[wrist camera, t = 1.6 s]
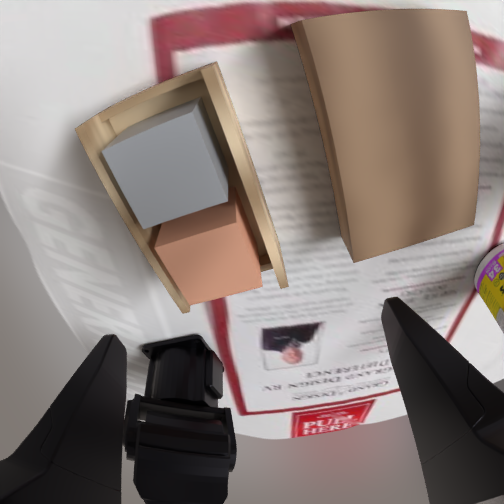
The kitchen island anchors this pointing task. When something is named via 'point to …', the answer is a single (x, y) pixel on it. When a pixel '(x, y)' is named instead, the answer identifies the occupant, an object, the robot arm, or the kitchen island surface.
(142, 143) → the block
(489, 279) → the supplement bottle
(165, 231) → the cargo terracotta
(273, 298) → the kitchen island surface
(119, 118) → the wooden tray
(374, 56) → the plate
